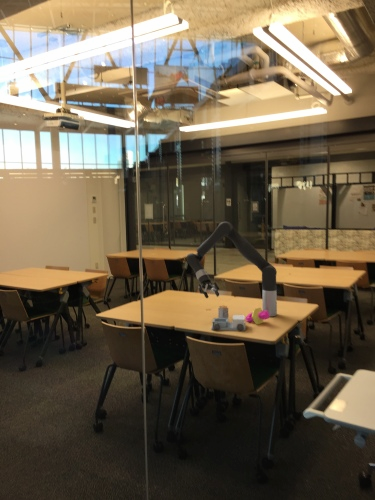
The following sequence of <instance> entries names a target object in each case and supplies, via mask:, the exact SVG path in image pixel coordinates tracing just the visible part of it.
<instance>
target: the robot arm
mask: <svg viewBox="0 0 375 500" xmlns="http://www.w3.org/2000/svg"><path fill="white" fill-rule="evenodd" d="M224 237H227V238H228V239H229V240H230V241H231V242H232V244H234V246H235V248H236V249H237V251H238V252H239V254H240V255H242V256H243V257H244V259H246V260H247V261H248V262H250V263H251V264H253V265H255V266H256V268H257V269H259V270H260V272H261V286H262V288H261V289H262V292H261V293H262V297H261V299H262V311H268V312H269V314H270V315H269V317H277V316H278V312H277V311H278V305H277V303H278V302H277V269H276V267H275V266H274V265H272V264H271V263H269V261H267V260H266V259H265V258H264V257H263V256H262V254H261V253H260V252H259V251H258V250H257V249H256V248H255V246H253V245H252V243H250V242H249V241H248V240H247V239H246V238H245V237H243V236H242V235H241V234H240V232H239V231H238V230H237V229H236V228H235V227H234V225H233V224H232V223H231V222H229V221H222V222H220V223H219V224H218V226H217V227H216V228H215V230H214V231H213V232H212V234H210V235H209V237H208V238H207V239H205V240H204V241H203V242H202V243H201V244H200V245H199V246H197V248H196V254H195V253H193V252H190V253H187V256H186V261H187V263H188V265H189V266H190V267H191V269H193V271H194V274H195V276H196V279H197V280H198V283H199V284H198V286H197V289H198V291H199V294H202V295H203V296H204V297H205V298H206V299H209V296H210V295H208V291H212V292H214V294H215V296H216V297H217V298H218V297H219V296H220V293H219V290H220V288H219V286H218V284H217V283H216V282H213V283H212V281H211V277H210V276H209V275H208V272H207V271H206V269H205V267H204V266H203V265H202V263H201V262H202V261H203V259H204V257H205V255H206V254H208V253H209V252H210V251H211V249H212V248H213V247H214V246H215V245H216V244H217V243H218V242H219V241H220V240H221V239H222V238H224Z"/></svg>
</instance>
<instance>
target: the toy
mask: <svg viewBox="0 0 375 500" xmlns="http://www.w3.org/2000/svg"><path fill="white" fill-rule="evenodd" d="M269 315H270V314H269V312H268V311H263V309H262V308H261V307H258V308H255V309H253V310H252V312H250V313H248V314H247V316H245V320H246V322H249V323H251V322H254V323H255V324H256V325H261V324H262V323H264V320H269V319H270V316H269Z"/></svg>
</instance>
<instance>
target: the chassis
mask: <svg viewBox="0 0 375 500" xmlns="http://www.w3.org/2000/svg"><path fill="white" fill-rule="evenodd" d="M245 320H246V316H245V314H233V315H232V321H231V322H229V317H228V318H218V317H213V319H212V325H211V331H216V332H217V331H232V332H233V331H238V332H243V331H244V332H245V331H246V322H245Z"/></svg>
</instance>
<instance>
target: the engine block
mask: <svg viewBox="0 0 375 500" xmlns="http://www.w3.org/2000/svg"><path fill="white" fill-rule="evenodd" d="M217 311H218V313H217V314H218V315H217V318H228V319H229V307H228V306H227V305H220V306H219V307H218V308H217Z"/></svg>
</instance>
